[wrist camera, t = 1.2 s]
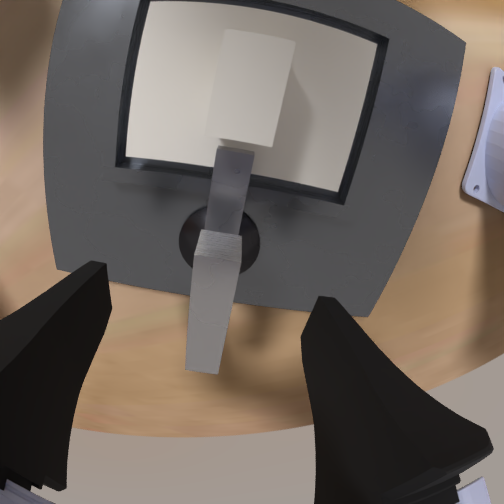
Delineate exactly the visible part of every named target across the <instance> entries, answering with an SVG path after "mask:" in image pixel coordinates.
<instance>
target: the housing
mask: <svg viewBox="0 0 504 504" xmlns="http://www.w3.org/2000/svg"><path fill="white" fill-rule="evenodd" d="M151 1H187V2H206V3H218V4H227V5H236V6H243V7H250V8H256V9H261V10H267V11H272V12H277V13H281V14H286V15H290V16H294V17H298V18H302V19H306V20H310V21H313V22H317V23H320V24H323V25H327V26H330V27H333V28H336V29H339V30H342V31H345V32H347V33H350V34H353V35H356V36H358V37H361V38H363V39H366V40H368V41H371V42H373V43H376V44H377V48H376V53H375V57H374V62H373V66H372V70H371V75H370V79H369V83H368V87H367V91H366V95H365V99H364V103H363V107H362V111H361V115H360V118H359V122H358V126H357V129H356V133H355V137H354V140H353V144H352V147H351V151H350V154H349V157H348V161H347V164H346V167H345V171H344V174H343V177H342V180H341V184H340V187H339V190H338V192H336V191H331V190H327V189H323V188H319V187H314V186H310V185H305V184H301V183H296V182H291V181H287V180H282V179H277V178H272V177H266V176H261V175H256V174H251V175H250V180H249V185H248V190H247V195H246V199H245V204H244V209H243V214H242V219H241V224H240V229H239V234H238V235H239V236H242V256H241V267H240V271H239V276H238V281H237V285H236V290H235V295H234V299H233V302H236V303H243V304H250V305H258V306H265V307H273V308H282V309H290V310H299V311H308V312H312V310H313V308H314V305H315V303H316V301H317V298H318V296H326V297H335V298H336V299H337V300H338V301H339V303H340V304H341V305H342V306H343V307H344V308H345V309H346V310H347V312H348V313H349V314H350V315H351V316H361V317H368V316H369V315H370V313H371V311H372V309H373V308H374V306H375V304H376V302H377V300H378V299H379V297H380V295H381V293H382V291H383V289H384V287H385V285H386V284H387V282H388V280H389V278H390V276H391V274H392V272H393V270H394V268H395V266H396V264H397V262H398V260H399V257H400V255H401V253H402V251H403V249H404V247H405V245H406V242H407V240H408V238H409V236H410V234H411V231H412V229H413V227H414V224H415V222H416V220H417V217H418V215H419V212H420V210H421V207H422V205H423V202H424V200H425V197H426V195H427V192H428V189H429V187H430V184H431V181H432V178H433V175H434V173H435V170H436V167H437V164H438V161H439V158H440V155H441V151H442V148H443V145H444V142H445V138H446V135H447V131H448V128H449V124H450V120H451V116H452V113H453V109H454V104H455V100H456V96H457V91H458V86H459V82H460V76H461V71H462V65H463V59H464V53H465V46H466V42H464V41H463V40H462V39H460V38H459V37H457V36H456V35H454V34H453V33H451V32H450V31H448V30H447V29H445V28H444V27H442V26H441V25H439V24H438V23H436V22H434V21H433V20H431V19H429V18H428V17H426V16H424V15H423V14H421V13H419V12H417V11H415V10H414V9H412V8H410V7H408V6H406V5H404V4H402V3H400V2H398V1H396V0H63V1H62V5H61V8H60V12H59V16H58V20H57V24H56V29H55V33H54V38H53V43H52V49H51V54H50V61H49V67H48V75H47V83H46V93H45V106H44V129H43V157H44V179H45V193H46V204H47V213H48V221H49V228H50V235H51V241H52V247H53V252H54V258H55V263H56V267H57V269H58V270H62V271H66V272H71V273H72V272H74V271H75V270H77V269H78V268H80V267H81V266H83V265H84V264H86V263H87V262H89V261H91V260H92V261H98V262H103V263H107V272H108V281H113V282H118V283H123V284H128V285H133V286H138V287H144V288H149V289H155V290H160V291H166V292H172V293H178V294H183V295H190V292H191V281H192V271H193V261H194V254H195V250H196V246H197V243H198V239H199V236H200V232H201V229H202V230H204V229H205V222H206V215H207V207H208V201H209V194H210V187H211V181H212V175H213V168H214V167H208V166H202V165H195V164H188V163H180V162H172V161H164V160H156V159H147V158H137V157H126V145H127V133H128V122H129V113H130V104H131V97H132V89H133V83H134V76H135V70H136V64H137V59H138V54H139V48H140V44H141V39H142V34H143V30H144V25H145V21H146V17H147V13H148V9H149V6H150V2H151Z"/></svg>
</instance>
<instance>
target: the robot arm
mask: <svg viewBox="0 0 504 504" xmlns="http://www.w3.org/2000/svg"><path fill="white" fill-rule="evenodd" d="M474 187H475V189H474ZM462 189H463V191H464V192H465V193H467V194H468V195H470V196H472V197H474V198H476V199H478V200H480V201H482V202H484V203H486V204H488V205H490V206H492V207H494V208H496V209H498V210H500V211H502V212H504V71H503V70H502V69H500V68H499V67H493V68H492V70H491V75H490V81H489V87H488V92H487V97H486V102H485V107H484V111H483V115H482V120H481V124H480V127H479V131H478V135H477V139H476V142H475V145H474V149H473V152H472V155H471V159H470V162H469V165H468V168H467V171H466V174H465V176H464V179H463V182H462ZM111 311H112V304H111V297H110V289H109V281H108V272H107V263H103V262H98V261H92V260H91V261H89V262H87V263H86V264H84V265H83V266H81V267H80V268H78V269H77V270H75V271H74V272H72V273H71V274H70V275H68V276H67V277H65V278H64V279H63V280H61V281H60V282H58V283H57V284H55V285H54V286H53V287H51V288H50V289H48V290H47V291H46V292H44V293H43V294H41V295H40V296H38V297H37V298H35V299H34V300H32V301H31V302H29V303H28V304H26V305H25V306H23V307H22V308H20V309H19V310H17V311H15V312H14V313H12V314H10V315H8V316H7V317H5V318H3V319H2V320H0V504H55V503H53V502H51V501H48V500H46V499H44V498H42V497H40V496H38V495H36V494H34V493H32V492H30V490H31V486H35V487H36V488H38V489H42V486H43V485H45V486H47V487H49V488H52V489H54V490H56V491H62V490H64V489H66V487H67V484H66V483H67V482H66V480H67V459H68V449H69V441H70V434H71V429H72V423H73V418H74V413H75V409H76V405H77V401H78V397H79V393H80V390H81V387H82V384H83V382H84V379H85V377H86V374H87V372H88V369H89V367H90V365H91V362H92V360H93V358H94V355H95V353H96V351H97V349H98V346H99V344H100V342H101V340H102V337H103V335H104V333H105V330H106V327H107V324H108V320H109V317H110V314H111ZM301 351H302V362H303V368H304V373H305V378H306V383H307V388H308V393H309V399H310V404H311V409H312V414H313V421H314V431H315V447H316V448H315V449H316V481H315V499H314V504H491V501H490V498H489V494H488V490H487V487H486V483H485V480H484V477H480V478H478V479H476V480H475V481H473V482H471V483H469V484H467V485H466V486H464V487H462V488H460V489H458V490H457V489H456V486H455V485H456V484H458V483H460V477H459V474H460V473H462V472H464V471H465V470H467V469H469V468H470V467H472V466H473V465H475V464H477V463H478V462H480V461H481V460H483V459H484V458H485V457H487V456H488V455H490V454H491V453H492V451H493V446H492V443H491V440H490V438H489V436H488V433H487V431H486V429H485V428H483V427H481V426H479V425H477V424H475V423H473V422H471V421H469V420H467V419H465V418H463V417H461V416H460V415H458V414H456V413H455V412H453V411H451V410H450V409H448V408H447V407H445V406H444V405H442V404H441V403H440V402H438V401H437V400H435V399H434V398H433V397H431V396H430V395H429V394H427V393H426V392H425V391H424V390H422V389H421V388H420V387H419V386H417V385H416V384H415V383H414V382H413V381H412V380H411V379H409V378H408V377H407V376H406V375H405V374H404V373H403V372H402V371H401V370H400V369H399V368H398V367H396V366H395V365H394V364H393V363H392V361H391V360H390V359H389V358H388V357H387V356H386V355H385V354H384V353H383V352H382V351H381V350H380V349H379V348H378V347H377V345H376V344H375V343H374V342H373V341H372V340H371V339H370V338H369V336H368V335H367V334H366V333H365V332H364V331H363V329H362V328H361V327H360V326H359V325H358V323H357V322H356V321H355V320H354V319H353V318H352V316H351V315H350V314H349V313H348V312H347V310H346V309H345V308H344V307H343V306H342V305H341V304H340V303H339V301H338V300H337V299H336V298H335V297H326V296H318V298H317V301H316V303H315V305H314V308H313V310H312V312H311V315H310V317H309V319H308V321H307V324H306V326H305V328H304V330H303V332H302V335H301Z"/></svg>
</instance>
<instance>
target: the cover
mask: <svg viewBox="0 0 504 504" xmlns="http://www.w3.org/2000/svg"><path fill="white" fill-rule="evenodd" d="M376 48H377V44H376V43H373V42H371V41H368V40H366V39H363V38H361V37H358V36H356V35H353V34H350V33H347V32H345V31H342V30H339V29H336V28H333V27H330V26H327V25H323V24H320V23H317V22H313V21H310V20H306V19H302V18H298V17H294V16H290V15H286V14H281V13H277V12H272V11H267V10H261V9H256V8H250V7H243V6H236V5H227V4H218V3H206V2H187V1H151V2H150V6H149V9H148V13H147V17H146V21H145V25H144V30H143V34H142V39H141V44H140V48H139V54H138V59H137V64H136V70H135V76H134V83H133V89H132V97H131V104H130V113H129V122H128V133H127V145H126V157H137V158H147V159H156V160H164V161H172V162H180V163H188V164H195V165H202V166H208V167H214V162H215V156H216V150H217V147H218V145H220V146H226V147H232V148H238V149H244V150H249V151H254V154H255V156H254V161H253V166H252V170H251V174H256V175H261V176H266V177H272V178H277V179H282V180H287V181H291V182H296V183H301V184H305V185H310V186H314V187H319V188H323V189H327V190H331V191H336V192H338V190H339V187H340V184H341V180H342V177H343V174H344V171H345V167H346V164H347V161H348V157H349V154H350V151H351V147H352V144H353V140H354V137H355V133H356V129H357V126H358V122H359V118H360V115H361V111H362V107H363V103H364V99H365V95H366V91H367V87H368V83H369V79H370V75H371V70H372V66H373V62H374V57H375V53H376Z"/></svg>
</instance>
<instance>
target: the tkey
mask: <svg viewBox="0 0 504 504" xmlns="http://www.w3.org/2000/svg"><path fill="white" fill-rule="evenodd" d="M254 156H255V154H254V151H249V150H244V149H238V148H232V147H226V146H220V145H218V147H217V150H216V156H215V162H214V168H213V175H212V181H211V187H210V194H209V201H208V207H207V215H206V222H205V229H204V230H202V229H201V232H200V236H199V239H198V243H197V246H196V250H195V254H194V261H193V271H192V281H191V292H190V304H189V317H188V331H187V346H186V364H185V370H190V371H196V372H203V373H210V374H218V371H219V367H220V362H221V357H222V352H223V347H224V342H225V338H226V333H227V328H228V323H229V318H230V314H231V309H232V304H233V299H234V295H235V290H236V285H237V281H238V276H239V271H240V267H241V256H242V236H239V235H238V234H239V229H240V224H241V219H242V214H243V209H244V204H245V199H246V195H247V190H248V185H249V180H250V175H251V170H252V166H253V161H254Z"/></svg>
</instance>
